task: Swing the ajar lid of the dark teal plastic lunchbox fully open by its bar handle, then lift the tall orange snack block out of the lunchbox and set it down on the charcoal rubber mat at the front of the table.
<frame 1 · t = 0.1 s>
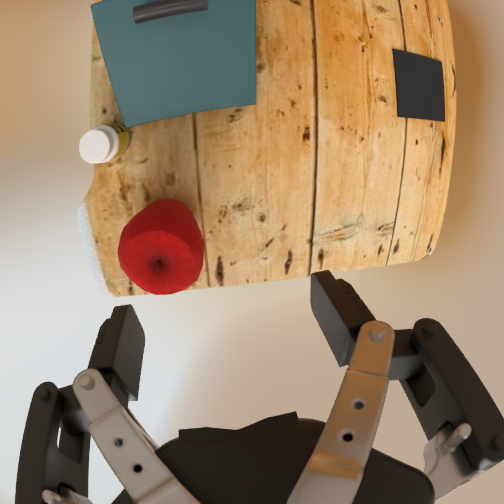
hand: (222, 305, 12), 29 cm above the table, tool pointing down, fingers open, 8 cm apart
supplement bottle: (116, 138, 33), on the table
mat: (421, 86, 35), on the table
apple: (168, 222, 40), on the table
lunchbox lid: (178, 56, 21), point 11 cm above the table, hinge at 30.0°
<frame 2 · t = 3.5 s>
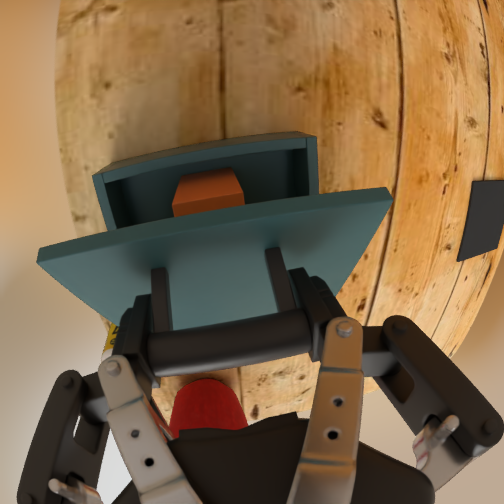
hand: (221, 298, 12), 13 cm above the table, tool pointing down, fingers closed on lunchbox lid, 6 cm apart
supplement bottle: (133, 322, 28), on the table
mat: (486, 218, 30), on the table
apple: (205, 387, 36), on the table
lunchbox lid: (232, 335, 16), point 11 cm above the table, hinge at 29.9°, touching gripper
lunchbox: (216, 231, 25), on the table
snack block: (211, 201, 22), point 1 cm above the table, touching lunchbox
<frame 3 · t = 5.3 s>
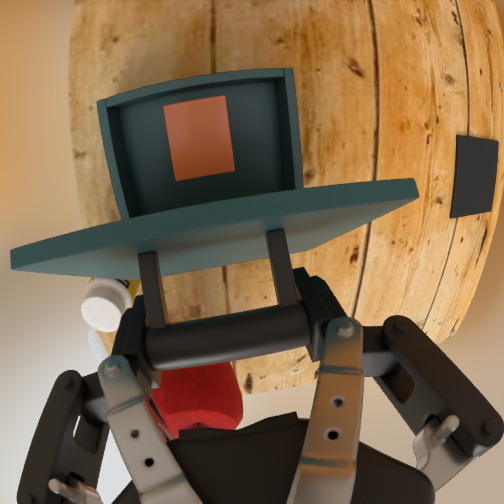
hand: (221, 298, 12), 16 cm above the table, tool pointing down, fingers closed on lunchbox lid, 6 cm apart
supplement bottle: (122, 266, 28), on the table
mat: (476, 176, 30), on the table
apple: (194, 349, 35), on the table
lunchbox lid: (223, 289, 16), point 13 cm above the table, hinge at 56.1°, touching gripper
lunchbox: (205, 163, 25), on the table
snack block: (201, 133, 23), point 1 cm above the table, touching lunchbox
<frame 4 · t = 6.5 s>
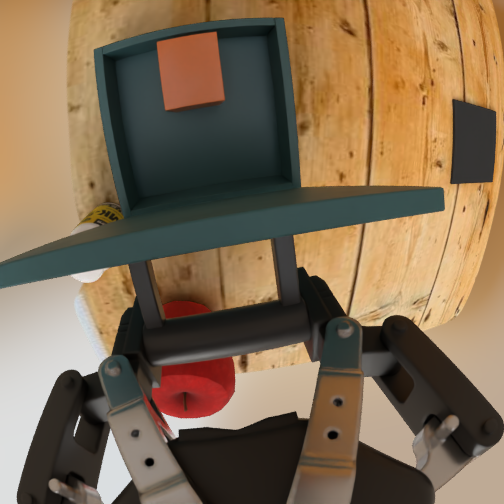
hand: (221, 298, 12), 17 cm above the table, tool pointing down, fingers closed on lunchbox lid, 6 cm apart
supplement bottle: (111, 222, 27), on the table
mat: (475, 144, 28), on the table
apple: (185, 317, 34), on the table
lunchbox lid: (216, 254, 15), point 13 cm above the table, hinge at 74.3°, touching gripper
lunchbox: (198, 112, 23), on the table
snack block: (194, 81, 21), point 1 cm above the table, touching lunchbox
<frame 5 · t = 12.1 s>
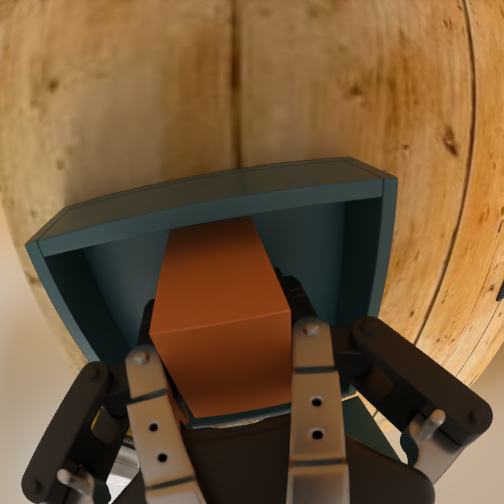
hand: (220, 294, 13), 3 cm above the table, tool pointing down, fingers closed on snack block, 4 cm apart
supplement bottle: (123, 394, 20), on the table
lunchbox: (226, 302, 17), on the table
snack block: (218, 267, 15), point 1 cm above the table, touching gripper, lunchbox
when the fingers open (3 cm above the table, at t = 21.4 s): snack block stays where it is, resting on mat.
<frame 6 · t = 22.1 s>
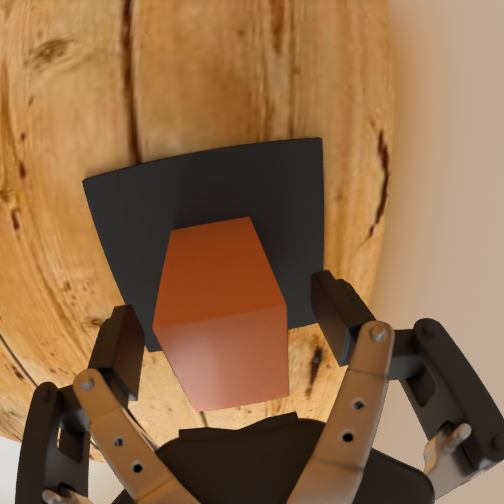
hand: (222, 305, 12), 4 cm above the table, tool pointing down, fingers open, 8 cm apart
mat: (217, 260, 15), on the table
snack block: (218, 266, 15), resting on mat
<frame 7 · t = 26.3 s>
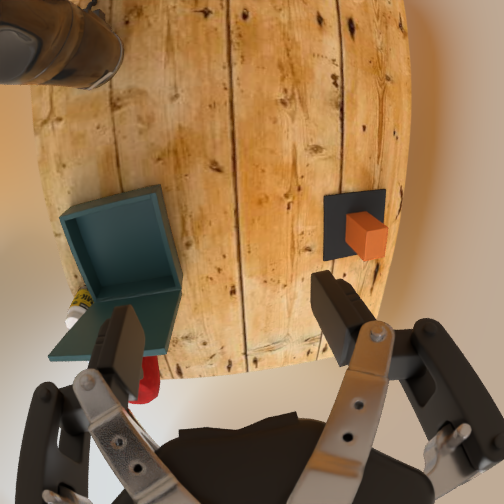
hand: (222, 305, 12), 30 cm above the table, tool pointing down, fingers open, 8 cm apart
supplement bottle: (89, 295, 45), on the table
mat: (354, 224, 46), on the table
apple: (138, 345, 52), on the table
lunchbox lid: (125, 337, 34), point 13 cm above the table, hinge at 74.9°
lunchbox: (125, 241, 41), on the table
snack block: (355, 226, 46), resting on mat
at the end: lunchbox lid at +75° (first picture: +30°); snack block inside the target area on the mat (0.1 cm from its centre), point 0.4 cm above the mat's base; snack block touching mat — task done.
